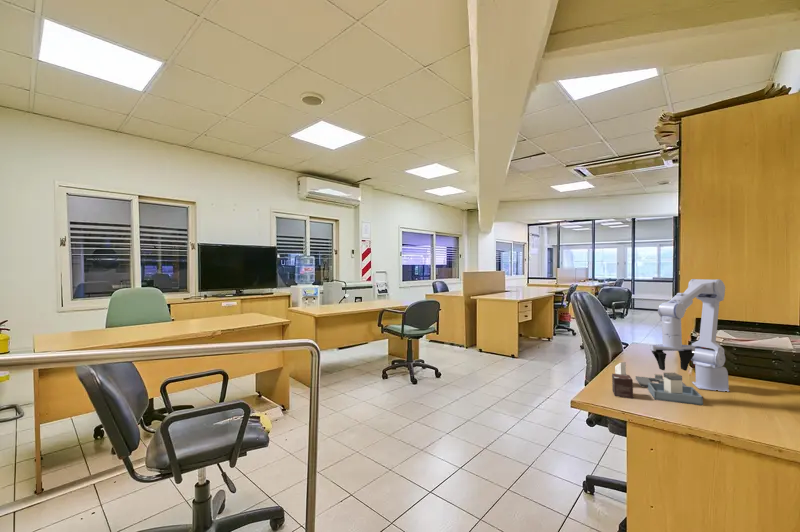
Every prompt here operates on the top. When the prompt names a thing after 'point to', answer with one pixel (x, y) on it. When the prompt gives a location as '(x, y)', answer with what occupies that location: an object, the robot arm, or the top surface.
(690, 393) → the tray
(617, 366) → the white wedge bracket
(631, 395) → the box
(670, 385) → the tan rectangular block
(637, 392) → the top surface
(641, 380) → the frame
